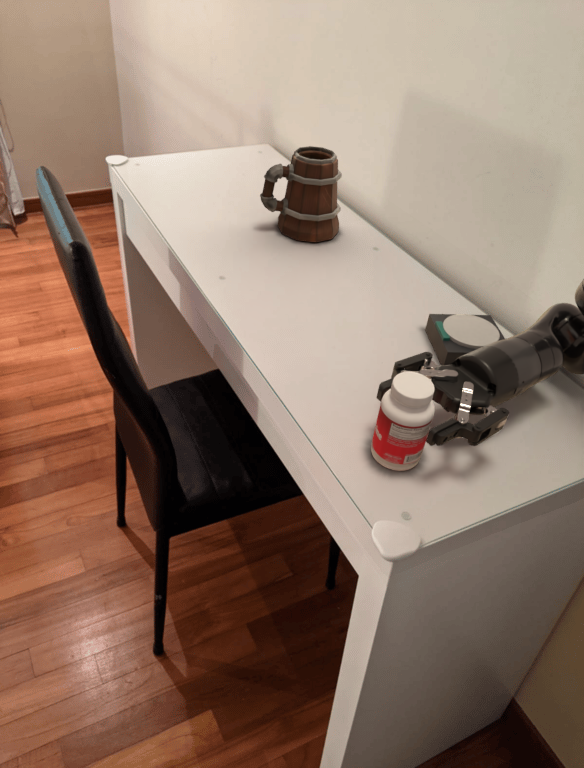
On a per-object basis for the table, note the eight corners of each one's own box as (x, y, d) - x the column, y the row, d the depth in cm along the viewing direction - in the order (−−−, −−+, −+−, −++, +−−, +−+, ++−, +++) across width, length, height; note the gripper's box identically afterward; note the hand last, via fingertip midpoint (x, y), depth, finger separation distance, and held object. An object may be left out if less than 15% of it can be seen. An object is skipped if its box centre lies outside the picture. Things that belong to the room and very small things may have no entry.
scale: (485, 330, 98) (491, 311, 95) (507, 369, 90) (515, 349, 88) (425, 329, 97) (430, 310, 94) (442, 368, 89) (448, 348, 87)
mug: (326, 215, 127) (336, 142, 117) (344, 242, 118) (356, 165, 108) (252, 217, 123) (256, 141, 114) (265, 245, 114) (269, 165, 105)
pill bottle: (376, 430, 77) (392, 361, 70) (423, 444, 76) (445, 375, 69) (364, 463, 73) (380, 393, 66) (415, 479, 72) (437, 409, 65)
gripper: (462, 321, 80) (368, 357, 72) (551, 381, 71) (457, 429, 64) (447, 366, 85) (359, 404, 77) (530, 427, 76) (440, 477, 68)
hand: (403, 415), depth 70 cm, fingers open, 8 cm apart
